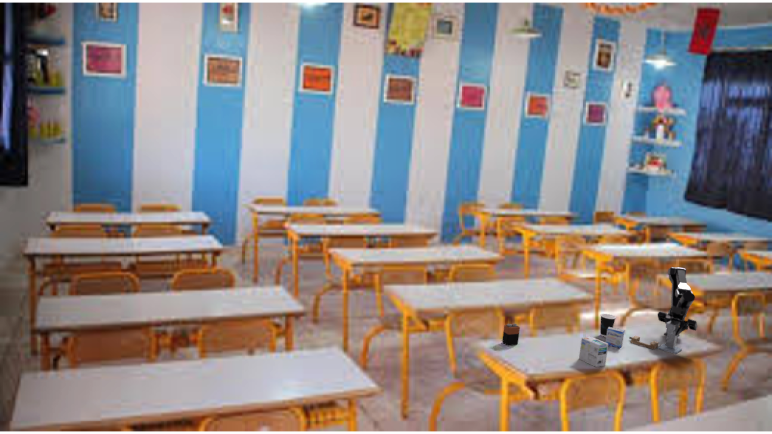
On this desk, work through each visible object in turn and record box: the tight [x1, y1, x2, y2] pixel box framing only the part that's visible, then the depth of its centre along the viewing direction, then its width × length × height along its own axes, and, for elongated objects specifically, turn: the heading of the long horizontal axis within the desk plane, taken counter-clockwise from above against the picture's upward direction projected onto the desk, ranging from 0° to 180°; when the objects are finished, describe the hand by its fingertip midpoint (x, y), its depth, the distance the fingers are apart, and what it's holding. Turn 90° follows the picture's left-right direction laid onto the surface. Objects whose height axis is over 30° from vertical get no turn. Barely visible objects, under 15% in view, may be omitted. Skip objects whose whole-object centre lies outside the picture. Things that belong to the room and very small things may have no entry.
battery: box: [501, 323, 521, 346], centre depth 322 cm, size 4×7×10 cm, turn 116°
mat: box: [657, 343, 683, 355], centre depth 335 cm, size 9×9×1 cm
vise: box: [629, 335, 659, 350], centre depth 339 cm, size 6×14×2 cm, turn 49°
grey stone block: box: [664, 320, 680, 348], centre depth 332 cm, size 8×4×13 cm, turn 139°
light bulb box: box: [578, 336, 609, 368], centre depth 306 cm, size 11×7×11 cm, turn 33°
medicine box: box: [604, 327, 626, 349], centre depth 333 cm, size 8×4×9 cm, turn 62°
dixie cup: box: [600, 313, 617, 338], centre depth 347 cm, size 8×8×11 cm
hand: (671, 334), depth 332 cm, fingers closed on grey stone block, 4 cm apart
